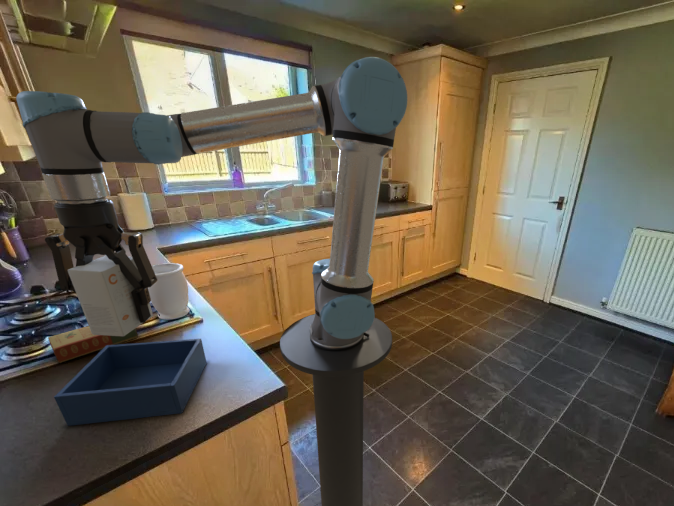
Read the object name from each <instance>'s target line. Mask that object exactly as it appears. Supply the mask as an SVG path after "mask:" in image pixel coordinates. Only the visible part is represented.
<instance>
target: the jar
mask: <svg viewBox="0 0 674 506" xmlns="http://www.w3.org/2000/svg"><path fill="white" fill-rule="evenodd" d="M151 266H152V268H153V270H154V273H155V275H156V277H157V282H156V283H155V284H153V285H152V286H151V287H148V291H149V294H150V298H151V302H150V303H151V304H152V306H153V308H154V309H155V310H156V311H157V312H158V313H159V314H160V316H159V315H158V314H157V317H158V318H159V319H160V320H165V321H166V320H167V321H169V320H176V319H180V318H182V317H184V316H186V315H188V314H189V313H190V307H188V305H189V301H190V300H189V285H188V280H187V278H186V275H185V274H184V269H185V268H184V265H183V264H181V263H176V262H167V263H166V262H165V263H158V264H153V265H151Z"/></svg>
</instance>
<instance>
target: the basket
mask: <svg viewBox="0 0 674 506" xmlns="http://www.w3.org/2000/svg"><path fill="white" fill-rule="evenodd" d="M206 358H207V357H206V354H205V349H204V345H203V341H202V338H188V339H177V340H161V341H160V340H159V341H150V342H149V341H147V342H134V343H119V344H116V345H106V346H105V347H104V348H103V349H100V350H99V352H98V353H97V354H96V355H95V356H94V357H93V358H92V359H91V360H90V361H89V362H87V364H86V365H84V366H83V368H82V369H81V370H80V371H79V372H78V373H77V374H75V375H74V377H72V378H71V380H70V381H68V382H67V384H65V385H64V386H63V388H62V389H60V390H59V391H58V392H57V393H56V394H55V395H54V396H53V398H54V400H55V402H56V403H55V404H57V406H58V408H59V411H60V413H61V416H62V417H63V419H64V421H65V423H66V426H68V427H70V426H79V425H88V424H89V425H90V424H98V423H106V422H117V421H124V420H133V419H134V420H135V419H142V418H150V417H151V418H152V417H160V416H161V417H162V416H169V415H178V414H183V412H185V408H186V406H187V404H188V402H189V400H190V398H191V396H192V394H193V392H194V390H195V388H196V385H197V384H198V382H199V380H200V377H201V375H202V373H203V371H204V370H205V367H206V365H207V359H206Z"/></svg>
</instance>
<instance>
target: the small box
mask: <svg viewBox="0 0 674 506" xmlns="http://www.w3.org/2000/svg"><path fill="white" fill-rule="evenodd" d="M127 256H128V255H127ZM128 257H129V259H130V260H131V261H132V263H133V264H134V265H135V267H136V264H135V262H134V260H133V258H132V256H130V255H129V256H128ZM136 268H137V267H136ZM68 273H69V276H70V278H71V281H72V284H73V286H74V289H75V291H76V293H75V294H76V296H77V298H78V301H79V305H80V306H81V307H80V308H81V309H82V312H83V315H84V317H85V320H86V322H87V326H89V327H90V330H91V333H92V334H93V335H107V336H125V335H126V334H128V333H129V332H131V331H132V330H134V329H136V328H138V327H139V326H141V325H143V323H140V320H139V317H138V314H137V310H136V307H135V304H134V301H133V297H132V294H131V292H132V291H133V290H134V289H135V288H134V287H133V286H132V285H131V283H130V282H129V281H128V280H127V278H126V277H125V276H124V275H123V273H122V272H121V270H120V267H119V265H116V264H115V263H114V262H113V261H112V260H110V259H109V258H108V257H107V256H106V255H102V256H100V257H98V258H95V259H93V261H92V262H90V263H88V264H86V265H83V266H76V265H75V266H74V268H71V269H68ZM148 308H149V311H150V315H151V316H150V317H149V318H148V319H147V320H146V322H147V321H148V320H150V319H151V318H153V317H154V314H153V309H152V306H151V302H150V303H149V304H148Z"/></svg>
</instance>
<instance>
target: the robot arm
mask: <svg viewBox="0 0 674 506" xmlns="http://www.w3.org/2000/svg"><path fill="white" fill-rule="evenodd" d="M407 90H408V89H407V86H406V83H405V80H404V78H403V77H402V75H401V73H400V72H399V70H398V69H397V68H396V67H395V66H394V65H393V64H392V63H391V62H389V61H387V60H386V59H384V58H381V57H377V56H366V57H362V58H360V59H356V60H354V61H352V62H351V63H350V64H349V65H348V66H346V67H345V69H344V70H343V72H342V74H341V75H340V76H339V77H337V78H335V79H333V80H331V81H329V82H326V83H322V84H316V85H312V86H311V88H310V90H309V91H308V92H303V93H297V94H292V95H284V96H278V97H273V98H267V99H259V100H255V101H248V102H242V103H236V104H230V105H224V106H223V105H222V106H218V107H212V108H205V109H198V110H193V111H192V110H191V111H186V112H181V113H172V114H167V115H166V114H160V113H153V112H148V111H145V112H143V111H142V112H130V111H129V112H127V111H99V110H91V109H87V107H86V105H85V103H84V101H83V99H82V98H81V97H79V96H77V95H73V94H69V93H61V92H48V91H39V90H38V91H37V90H23V91H20V92H19V93H17V95H16V97H15V99H16V103H17V107H18V110H19V114H20V117H21V120H22V127H23V128H24V129H25V131H26V133H27V135H28V139H29V141H30V144H31V147H32V149H33V152H34V154H35V157H36V159H37V162H38V164H39V168H40V170H41V175H42V178H43V181H44V183H45V186H46V189H47V192H48V194H49V197H50V199H51V200H53V201H57V202H55V203H54V204H53V207H54V211H55V213H56V216H57V218H58V221H59V224H60V225H61V226H62V227H63V232H62V233H54V234H52V235H50V236H47V237H44V242H45V243H46V245H47V246H48V248H49V249H50V250H51V254H52V258H53V263H54V267H55V271H56V275H57V281H58V284H59V289H60V290H61V291H63V292H67V291H70V292H73V293H75V294H76V291H75V289H74V286H73V284H72V281H71V278H70V276H69V273H68V269H71V268H74V267H76V266H83V265H86V264H88V263H90V262H92V261H93V260H94V257H95V256H96V255H101V256H105V255H106V256H107V257H108V258H109V259H110V260H112V261H113V262H114V263H115V264H116V265H119V267H120V270H121V272H122V273H123V275H124V276H125V277H126V278H127V280H128V281H129V282H130V283H131V285H132V286H133V287H134V288H135V289H134V290H133V291H132V292H131V294H132V297H133V301H134V304H135V307H136V310H137V314H138V317H139V320H140V323H142V324H144V323H146V322H147V321H148V320H149V319H148V318H149V317H150V316H151V315H150V311H149V308H148V304H149V303H150V304H151V303H152V302H151V298H150V294H149V291H148V287H151V286H152V285H153V284H155V283H156V282H157V277H156V275H155V273H154V270H153V268H152V266H153V265H152V264H151V261H150V259H149V256H148V254H147V252H146V251H147V250H146V249H145V247H144V240H143V239H144V236H143V233H141V232H139V231H138V232H135V233H131V232H125V231H124V229H122V227H120V225H119V218H118V215H117V211H116V208H115V204H114V202H113V201H112V200H111V199H109V197H111V191H110V188H109V185H108V182H107V178H106V175H105V171H104V167H103V163H123V164H124V163H127V164H153V165H159V166H160V165H165V164H177V163H179V162H180V161H181V160H182V158H185V157H190V156H195V155H198V154H205V153H209V152H216V151H221V150H227V149H232V148H237V147H243V146H244V147H245V146H248V145H254V144H260V143H265V142H271V141H277V140H282V139H283V140H284V139H289V138H294V137H299V136H303V135H304V136H305V135H310V134H316V133H318V134H319V135H322V137H328V136H332V141H333V143H334V144H335V146H337V148H338V150H339V153H338V154H339V155H338V164H337V165H338V166H337V174H336V175H337V177H336V189H335V200H334V209H333V210H334V211H333V219H332V220H333V221H332V231H331V232H332V233H331V245H330V255H329V258H324V259H319V260H317V261H314V263H313V264H312V272H311V274H312V280H313V281H312V282H313V296H314V297H313V298H314V300H313V301H314V311H315V312H314V314H315V316H314V320H313V323H312V326H310V340H311V343H312V344H313V345H314V346H316V347H317V348H319V349H322V350H326V351H344V350H348V349H351V348H354V347H356V346H357V345H359V344H360V343H361V342H362V340H363V338H364V335H365V336H367V337H369V334H367V333H365V332H366V331H367V330H368V329H369V328H370V327H371V325H372V323H373V321H374V317H375V306H374V304H373V302H372V296H373V287H374V281H375V280H374V277H373V276H372V274H371V273H370V271H369V268H370V260H371V252H372V248H373V247H372V246H373V240H374V231H375V224H376V217H377V216H376V215H377V209H378V203H379V202H378V201H379V196H380V189H381V188H380V187H381V181H382V172H383V166H384V158H385V157H386V156H387V155H388V154H389V153H390V152H392V151H393V150H394V144H395V136H396V130H397V127H398V126H399V125H400V123H401V122H402V120H403V118H404V117H405V114H406V111H407V107H408V91H407ZM122 240H123V241H124V243H125V244H124V245H126V246H128V251H129V253H130V255H131V257H132V258H133V260H134V262H135V264H136V267H137V268H136V267H135V265H134V264H133V263H132V261H131V260H130V259H129V257H130V256H129V257H128V255H127V252H126V251H127V250H126V249H125V247H123V245H122V244H121V243H122ZM70 244H71V245H72V246H74V247H75V252H74V259H76V260H75V266H74V262H73V257H72V251H71V248H70ZM375 318H376V317H375ZM147 319H148V320H147ZM146 320H147V321H146Z"/></svg>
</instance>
